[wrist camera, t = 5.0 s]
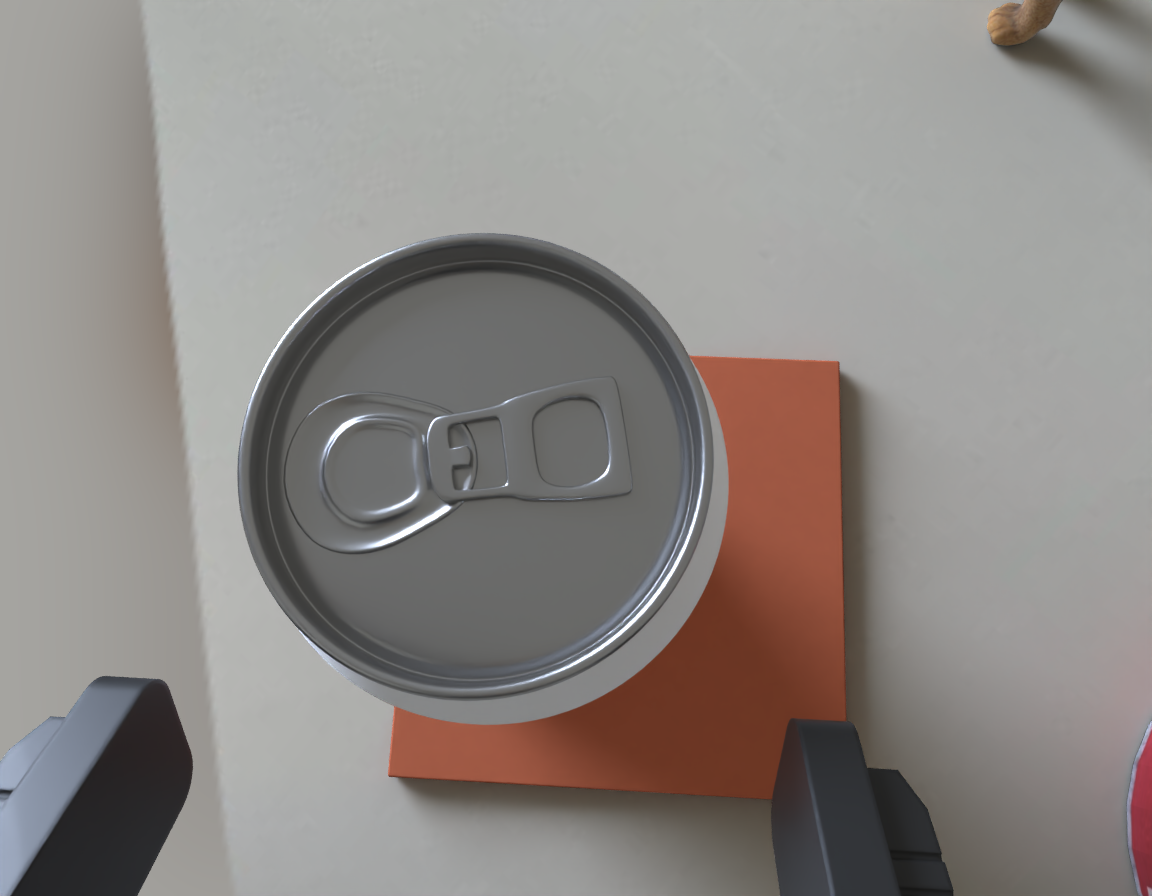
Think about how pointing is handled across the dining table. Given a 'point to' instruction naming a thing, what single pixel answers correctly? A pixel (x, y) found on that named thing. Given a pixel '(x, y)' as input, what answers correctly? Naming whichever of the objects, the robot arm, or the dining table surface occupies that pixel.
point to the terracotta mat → (706, 626)
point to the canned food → (1141, 816)
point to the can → (483, 478)
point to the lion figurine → (1020, 20)
